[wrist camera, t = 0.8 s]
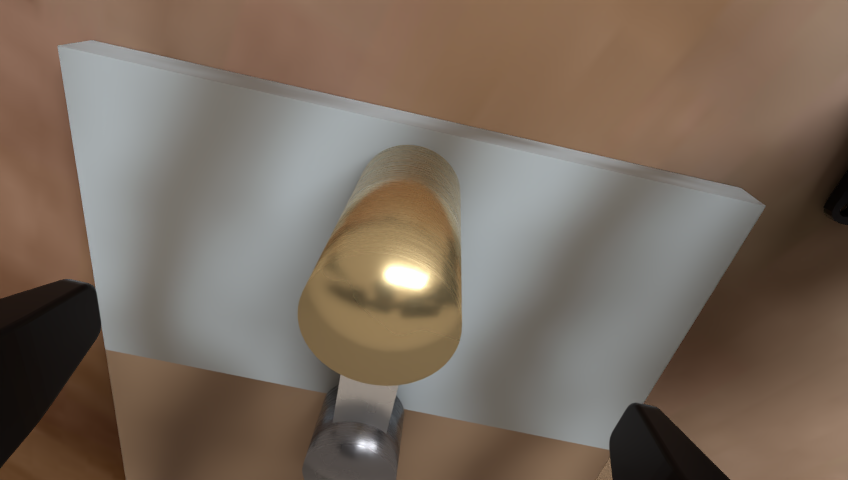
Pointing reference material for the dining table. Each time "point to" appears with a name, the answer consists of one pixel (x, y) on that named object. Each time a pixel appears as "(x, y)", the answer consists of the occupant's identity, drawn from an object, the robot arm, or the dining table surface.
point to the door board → (304, 243)
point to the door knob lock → (383, 308)
